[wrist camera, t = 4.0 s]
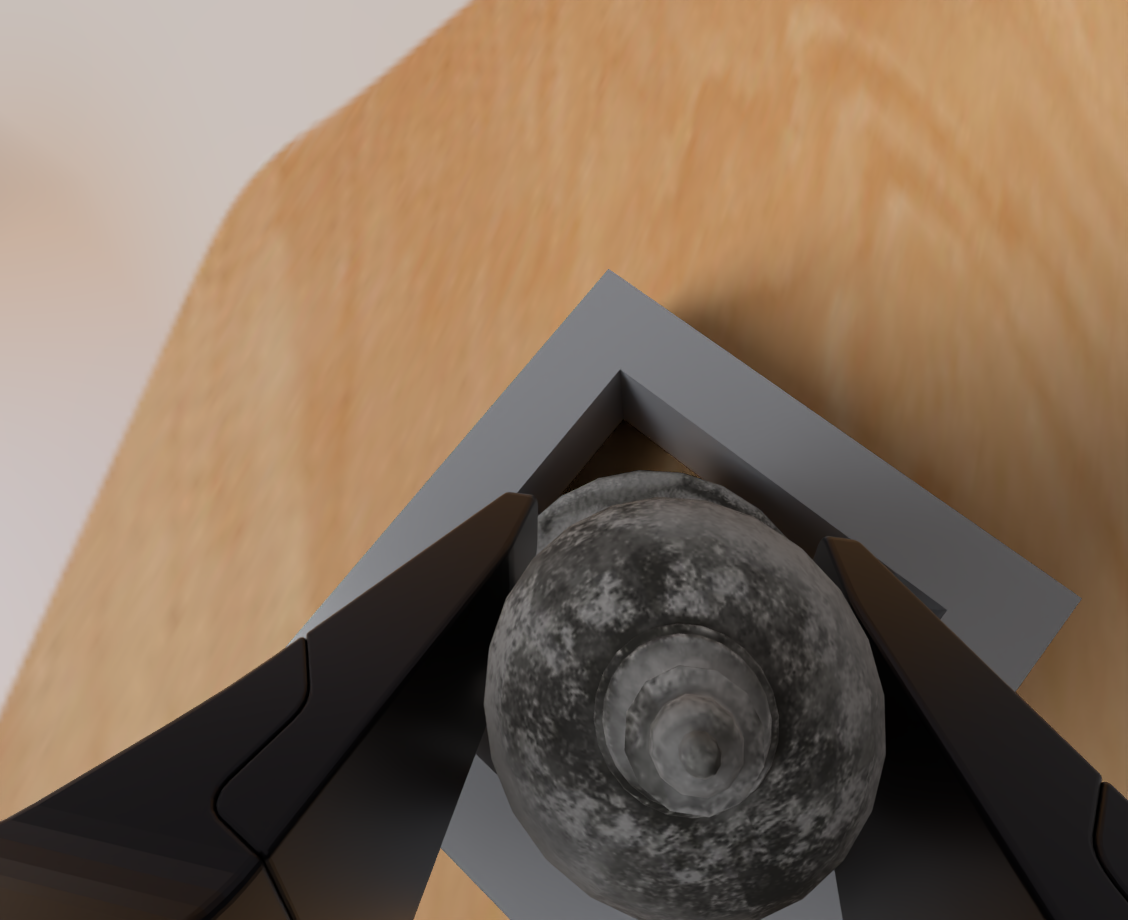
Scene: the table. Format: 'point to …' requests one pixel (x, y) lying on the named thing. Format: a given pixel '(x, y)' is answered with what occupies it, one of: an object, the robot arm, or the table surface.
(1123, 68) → the table surface
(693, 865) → the salt shaker
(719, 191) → the table surface
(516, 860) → the socket block
